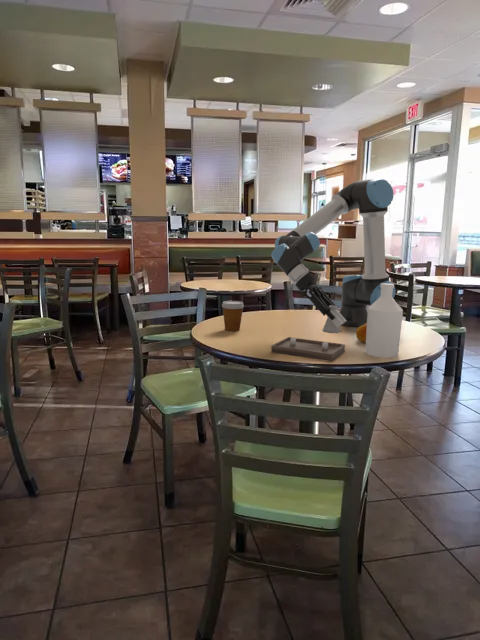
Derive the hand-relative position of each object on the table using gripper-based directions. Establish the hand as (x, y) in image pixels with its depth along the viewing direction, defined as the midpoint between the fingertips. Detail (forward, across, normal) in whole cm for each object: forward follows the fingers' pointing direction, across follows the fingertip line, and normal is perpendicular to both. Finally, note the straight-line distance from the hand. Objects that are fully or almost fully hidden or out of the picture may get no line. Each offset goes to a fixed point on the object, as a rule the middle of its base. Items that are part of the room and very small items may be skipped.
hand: (341, 324), depth 177 cm
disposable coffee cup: (-28, -1, -39) cm, 48 cm away
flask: (0, 0, -5) cm, 5 cm away
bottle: (+17, +4, +5) cm, 19 cm away
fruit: (+11, -10, -1) cm, 15 cm away
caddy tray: (0, +16, -11) cm, 20 cm away
